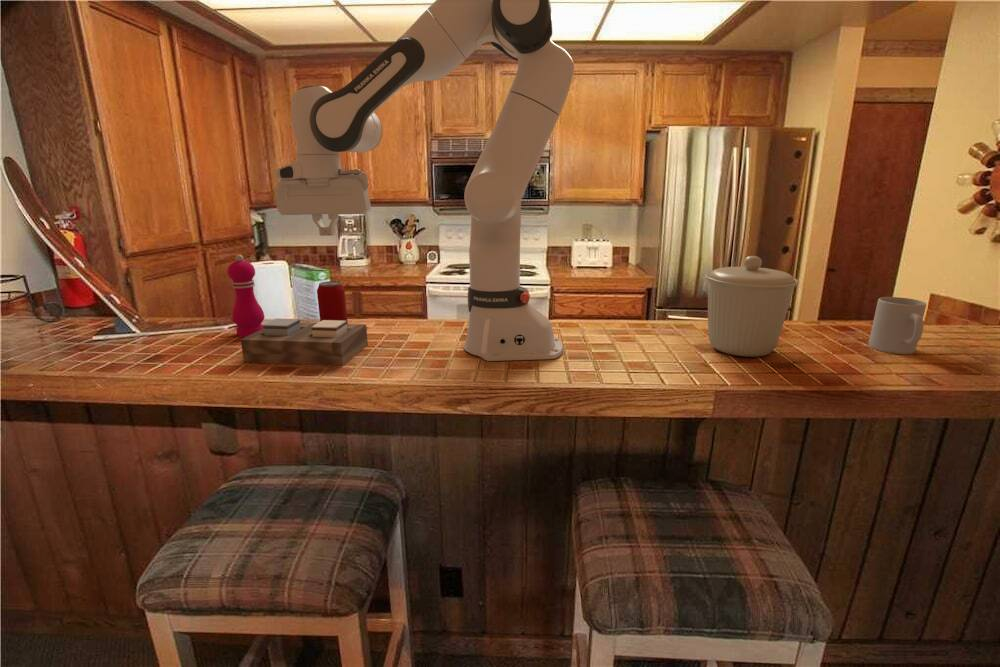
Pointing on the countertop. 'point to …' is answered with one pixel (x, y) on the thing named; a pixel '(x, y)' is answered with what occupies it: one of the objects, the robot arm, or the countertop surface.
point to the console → (305, 346)
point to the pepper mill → (245, 298)
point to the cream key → (329, 328)
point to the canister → (747, 307)
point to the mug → (897, 325)
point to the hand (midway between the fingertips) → (327, 235)
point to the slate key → (282, 327)
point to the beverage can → (331, 301)
